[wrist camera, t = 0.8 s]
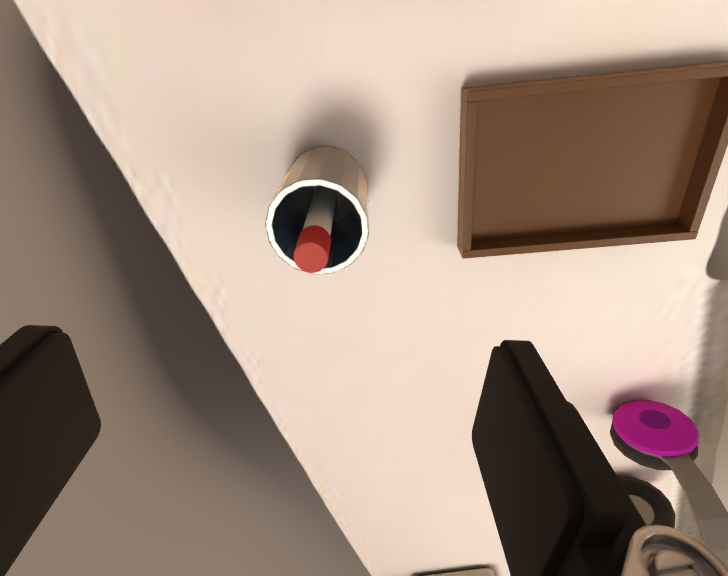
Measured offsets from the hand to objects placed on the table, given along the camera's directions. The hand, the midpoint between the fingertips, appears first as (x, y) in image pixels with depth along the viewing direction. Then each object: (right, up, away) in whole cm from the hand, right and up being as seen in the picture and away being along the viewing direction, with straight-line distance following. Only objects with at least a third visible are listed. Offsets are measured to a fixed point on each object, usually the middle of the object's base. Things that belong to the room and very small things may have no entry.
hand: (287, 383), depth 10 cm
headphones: (+38, -20, +49) cm, 65 cm away
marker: (-2, +11, +29) cm, 31 cm away
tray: (+21, +13, +29) cm, 38 cm away
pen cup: (-2, +12, +30) cm, 32 cm away
